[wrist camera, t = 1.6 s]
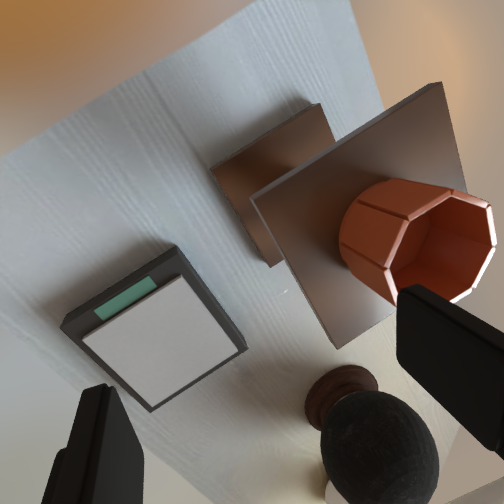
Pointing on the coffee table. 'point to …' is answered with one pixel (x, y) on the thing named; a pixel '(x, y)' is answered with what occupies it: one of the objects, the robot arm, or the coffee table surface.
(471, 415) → the robot arm
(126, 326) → the scale
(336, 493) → the flower in vase
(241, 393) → the coffee table surface
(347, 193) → the stand
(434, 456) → the black orb ornament
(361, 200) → the bowl
